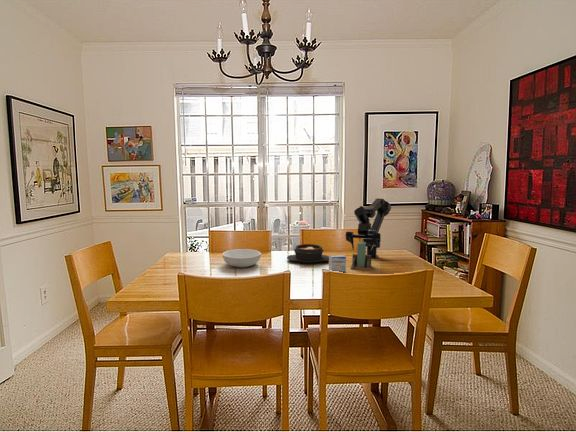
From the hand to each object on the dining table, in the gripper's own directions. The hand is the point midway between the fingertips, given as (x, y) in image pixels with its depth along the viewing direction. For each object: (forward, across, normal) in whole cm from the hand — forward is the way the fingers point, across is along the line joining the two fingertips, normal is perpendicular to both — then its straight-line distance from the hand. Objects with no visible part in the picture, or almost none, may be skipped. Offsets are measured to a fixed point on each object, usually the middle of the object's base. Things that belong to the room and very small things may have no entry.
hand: (361, 250), depth 191 cm
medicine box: (+16, -11, -3) cm, 20 cm away
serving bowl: (+17, -63, -4) cm, 66 cm away
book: (+6, 0, +6) cm, 8 cm away
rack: (+7, 0, +6) cm, 9 cm away
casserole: (+4, -30, +10) cm, 32 cm away
